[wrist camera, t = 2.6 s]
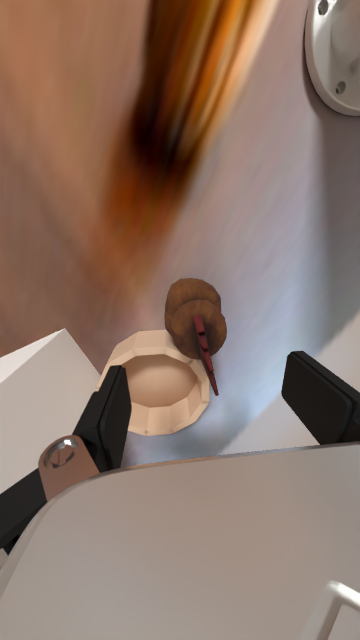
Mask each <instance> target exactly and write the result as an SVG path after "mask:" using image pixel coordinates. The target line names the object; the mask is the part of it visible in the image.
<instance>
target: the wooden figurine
mask: <svg viewBox="0 0 360 640" xmlns="http://www.w3.org/2000/svg"><path fill="white" fill-rule="evenodd" d="M165 327H166V330H167V331H168V333H169V334H170V335H171V337H172V339H173V342H174V345H175V346H176V347H177V349H178V350H179V351H180V352H181V353H182V354H183V355H185V356H186V357H188V358H190V359H195V360H201V361H202V364H203V366H204V369H205V371H206V374H207V376H208V378H209V381H210V383H211V386H212V388H213V390H214V393H215V395H216V396H217V395H219V394H218V390H217V386H216V381H215V377H214V373H213V366H212V362H211V358H210V356H212V355H213V354H215V353H216V352H217V351H218V350H219V349H220V348H221V347H222V346H223V344H224V341H225V339H226V334H227V327H226V322H225V318H224V316H223V315H222V313H221V298H220V296H219V294H218V292H217V291H216V289H215V288H214V287H213V286H212V285H210V284H208V283H207V282H205V281H203V280H199V279H193V278H188V279H180V280H178V281H177V282H175V283H174V284H172V285H171V287H170V290H169V292H168V295H167V300H166V305H165Z"/></svg>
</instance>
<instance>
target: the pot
mask: <svg viewBox="0 0 360 640" xmlns="http://www.w3.org/2000/svg"><path fill="white" fill-rule="evenodd" d="M112 365H121V366H122V367H125V369H126V374H127V380H128V386H129V392H130V398H131V404H132V412H131V417H130V422H129V426H128V431H132V432H135V433H138V434H141V435H145V436H150V435H162V434H173V433H175V432H177V431H179V430H181V429H182V428H184V427H186V426H188V425H190V424H192V423H194V422H196V420H197V419H198V417H199V416H200V415H201V413H202V412H203V410H204V409H205V408H206V406H207V405H208V403H209V378H208V376H207V374H206V371H205V369H204V366H203V364H202V361H201V360H195V359H190V358H188V357H186V356H185V355H183V354H182V353H181V352H180V351H179V350H178V349H177V347H176V346H175V345H174V342H173V339H172V337H171V335H170V334H169V333H168V331H167V330H153V331H138V332H137V333H135V334H133V335H132V336H130V337H129V338H127V339H125V340H124V341H122V342H121V343H119V344H117V345H116V347H115V349H114V351H113V353H112V354H111V356H110V358H109V360H108V362H107V364H106V367H105V369H104V371H103V373H102V375H101V378H100V380H99V382H98V384H97V386H96V390H97V391H99V388H100V386H101V384H102V382H103V380H104V378H105V376H106V374H107V371H108V369H109V367H110V366H112Z"/></svg>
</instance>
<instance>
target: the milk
mask: <svg viewBox="0 0 360 640" xmlns="http://www.w3.org/2000/svg"><path fill="white" fill-rule="evenodd" d="M100 378H101V376H100V374H99V373H98V372H97V370H96V369H95V368H94V366H93V365H92V364H91V362H90V361H89V360H88V358H87V357H86V356H85V354H84V353H83V352H82V350H81V349H80V348H79V346H78V345H77V344H76V342H75V341H74V340H73V338H72V337H71V336H70V334H69V333H68V332H67V330H66V329H65V328H64V329H62V330H60V331H58V332H55V333H53V334H51V335H49V336H47V337H45V338H42V339H40V340H38V341H36V342H34V343H32V344H30V345H27V346H25V347H23V348H21V349H19V350H17V351H14V352H12V353H10V354H8V355H6V356H4V357H1V358H0V494H1V493H2V492H4V491H5V490H7V489H8V488H10V487H11V486H12V485H14V484H15V483H17V482H18V481H19V480H21V479H22V478H24V477H25V476H27V475H28V474H29V473H31V472H32V471H34V470H35V469H36V468H38V461H39V458H40V456H41V454H42V453H43V451H44V450H45V449H46V448H47V447H48V446H49V445H50V444H51V443H53V442H54V441H55V440H57V439H59V438H61V437H64V436H67V435H72V433H73V431H74V429H75V427H76V425H77V423H78V421H79V419H80V417H81V415H82V413H83V411H84V409H85V407H86V405H87V403H88V401H89V399H90V397H91V395H92V394H93V392H95V391H97V390H96V386H97V384H98V382H99V380H100Z"/></svg>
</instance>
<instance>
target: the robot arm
mask: <svg viewBox="0 0 360 640" xmlns="http://www.w3.org/2000/svg"><path fill="white" fill-rule="evenodd" d="M305 52H306V62H307V67H308V71H309V75H310V78H311V81H312V83H313V85H314V87H315V90H316V92H317V93H318V95H319V96H320V97H321V99H322V100H323V101H324V103H325V104H327V105H328V106H329V107H331V108H332V109H333V110H334V111H337V112H339V113H342V114H344V115H352V116H359V115H360V0H310V2H309V7H308V13H307V19H306V26H305ZM281 393H282V397H283V399H284V400H285V401H286V402H287V404H288V405H289V406H290V407H291V408H292V410H293V411H294V412H295V414H296V415H297V416H298V417H299V419H300V420H301V421H302V423H303V424H304V425H305V426H306V428H307V429H308V430H309V431H310V432H311V434H312V435H313V436H314V438H315V439H316V440H317V441H318V443H319V444H320V445H315V446H305V447H294V448H284V449H275V450H265V451H255V452H247V453H236V454H227V455H218V456H209V457H200V458H191V459H182V460H173V461H165V462H157V463H149V464H142V465H134V466H129V467H123V468H120V465H121V460H122V455H123V451H124V446H125V441H126V436H127V431H128V426H129V422H130V417H131V412H132V404H131V398H130V392H129V386H128V380H127V374H126V369H125V367H122V366H121V365H112V366H110V367H109V369H108V371H107V374H106V376H105V378H104V380H103V382H102V384H101V386H100V388H99V391H95V392H93V394H92V395H91V397H90V399H89V401H88V403H87V405H86V407H85V409H84V411H83V413H82V415H81V417H80V419H79V421H78V423H77V425H76V427H75V429H74V431H73V433H72V435H67V436H64V437H61V438H59V439H57V440H55V441H54V442H53V443H51V444H50V445H49V446H48V447H47V448H46V449H45V450H44V451H43V453H42V454H41V456H40V458H39V461H38V468H36V469H35V470H34V471H32V472H31V473H29V474H28V475H27V476H25V477H24V478H22V479H21V480H19V481H18V482H17V483H15V484H14V485H12V486H11V487H10V488H8V489H7V490H5V491H4V492H2V493H1V494H0V640H360V393H359V392H358V391H357V390H355V389H354V388H352V387H351V386H350V385H349V384H347V383H346V382H344V381H343V380H342V379H340V378H339V377H338V376H336V375H335V374H334V373H332V372H331V371H330V370H328V369H327V368H325V367H324V366H323V365H321V364H320V363H319V362H317V361H316V360H315V359H313V358H312V357H311V356H309V355H308V354H306V353H305V352H304V351H293V352H291V353H290V354H289V355H288V356H287V362H286V368H285V374H284V379H283V385H282V391H281Z"/></svg>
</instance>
